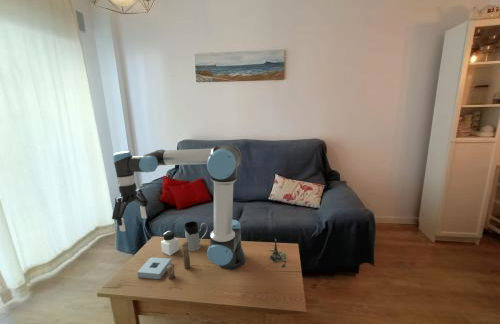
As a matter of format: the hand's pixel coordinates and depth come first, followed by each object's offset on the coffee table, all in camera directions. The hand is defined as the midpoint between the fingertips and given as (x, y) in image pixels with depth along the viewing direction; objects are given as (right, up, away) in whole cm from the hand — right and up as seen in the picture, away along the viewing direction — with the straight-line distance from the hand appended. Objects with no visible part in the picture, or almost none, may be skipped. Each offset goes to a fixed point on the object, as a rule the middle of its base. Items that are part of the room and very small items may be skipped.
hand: (134, 224), depth 119 cm
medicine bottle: (+11, -22, +22) cm, 33 cm away
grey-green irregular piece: (+73, -22, +11) cm, 77 cm away
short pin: (+19, -26, 0) cm, 32 cm away
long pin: (+25, -25, +7) cm, 36 cm away
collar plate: (+9, -25, +5) cm, 27 cm away
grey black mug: (+26, -20, +26) cm, 42 cm away
